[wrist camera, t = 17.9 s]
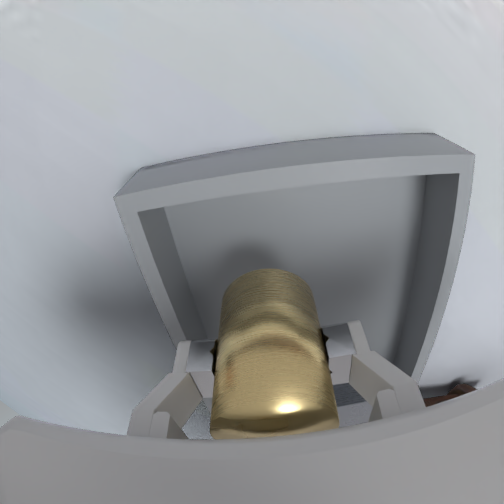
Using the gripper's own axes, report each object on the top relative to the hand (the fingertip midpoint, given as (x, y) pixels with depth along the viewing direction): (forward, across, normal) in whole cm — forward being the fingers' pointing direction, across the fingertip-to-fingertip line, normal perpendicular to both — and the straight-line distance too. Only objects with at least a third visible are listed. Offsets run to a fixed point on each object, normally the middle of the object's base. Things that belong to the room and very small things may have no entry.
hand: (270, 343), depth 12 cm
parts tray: (+6, -2, +6) cm, 9 cm away
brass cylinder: (+2, 0, 0) cm, 2 cm away
